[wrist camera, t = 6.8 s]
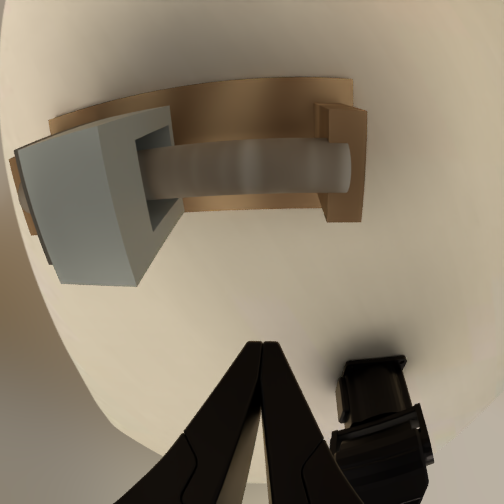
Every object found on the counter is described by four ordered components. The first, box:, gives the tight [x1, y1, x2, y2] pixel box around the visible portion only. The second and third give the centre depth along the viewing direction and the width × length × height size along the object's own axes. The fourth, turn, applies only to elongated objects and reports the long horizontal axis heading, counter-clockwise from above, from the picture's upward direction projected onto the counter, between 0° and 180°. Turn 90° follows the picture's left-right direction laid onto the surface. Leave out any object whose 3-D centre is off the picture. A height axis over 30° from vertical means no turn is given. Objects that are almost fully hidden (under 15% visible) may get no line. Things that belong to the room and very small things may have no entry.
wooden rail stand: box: [9, 77, 367, 235], centre depth 15 cm, size 20×8×7 cm, turn 94°
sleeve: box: [18, 105, 184, 287], centre depth 12 cm, size 4×6×7 cm, turn 4°
